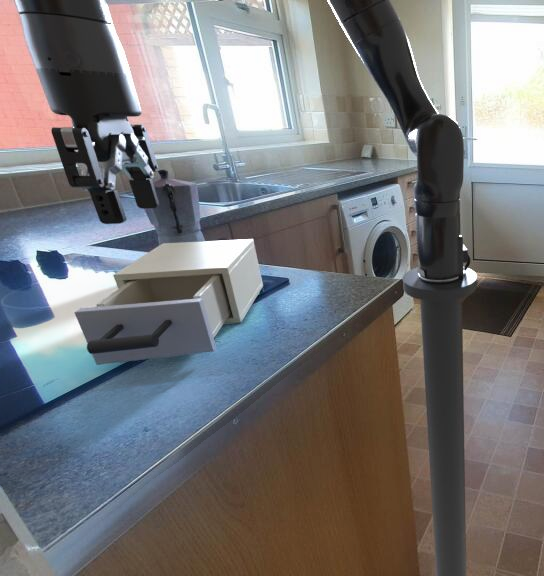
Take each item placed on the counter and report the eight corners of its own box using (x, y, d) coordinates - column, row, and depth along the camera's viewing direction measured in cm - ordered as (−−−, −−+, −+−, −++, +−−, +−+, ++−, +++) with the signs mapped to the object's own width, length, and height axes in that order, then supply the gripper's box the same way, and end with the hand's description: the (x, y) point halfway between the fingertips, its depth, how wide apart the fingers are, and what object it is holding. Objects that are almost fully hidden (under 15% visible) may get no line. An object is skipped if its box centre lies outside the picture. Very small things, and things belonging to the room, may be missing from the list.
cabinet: (241, 322, 65) (227, 267, 61) (134, 333, 60) (112, 274, 57) (263, 285, 78) (253, 239, 75) (177, 292, 74) (162, 243, 71)
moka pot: (210, 255, 93) (186, 165, 86) (227, 274, 83) (201, 173, 75) (157, 264, 87) (126, 167, 79) (167, 285, 77) (133, 176, 69)
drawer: (197, 375, 50) (181, 321, 47) (66, 392, 46) (39, 335, 43) (242, 306, 68) (232, 264, 65) (150, 314, 64) (135, 270, 61)
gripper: (81, 72, 50) (126, 204, 56) (-14, 59, 37) (56, 231, 44) (155, 76, 52) (190, 203, 58) (88, 64, 40) (141, 227, 46)
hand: (133, 215), depth 51 cm, fingers open, 8 cm apart
